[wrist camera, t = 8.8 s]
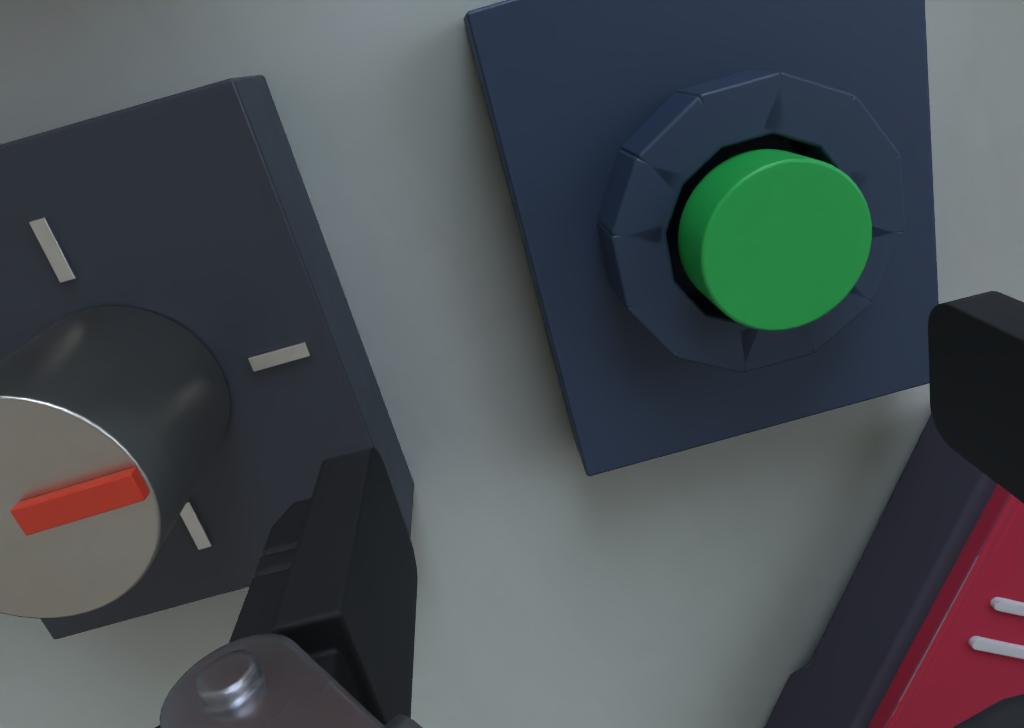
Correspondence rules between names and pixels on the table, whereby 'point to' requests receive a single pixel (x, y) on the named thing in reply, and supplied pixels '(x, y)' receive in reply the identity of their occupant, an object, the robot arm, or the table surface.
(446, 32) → the table surface
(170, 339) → the program dial
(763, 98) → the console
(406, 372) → the table surface
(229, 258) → the dial panel
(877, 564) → the calculator
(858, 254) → the button
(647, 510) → the table surface
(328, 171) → the table surface
